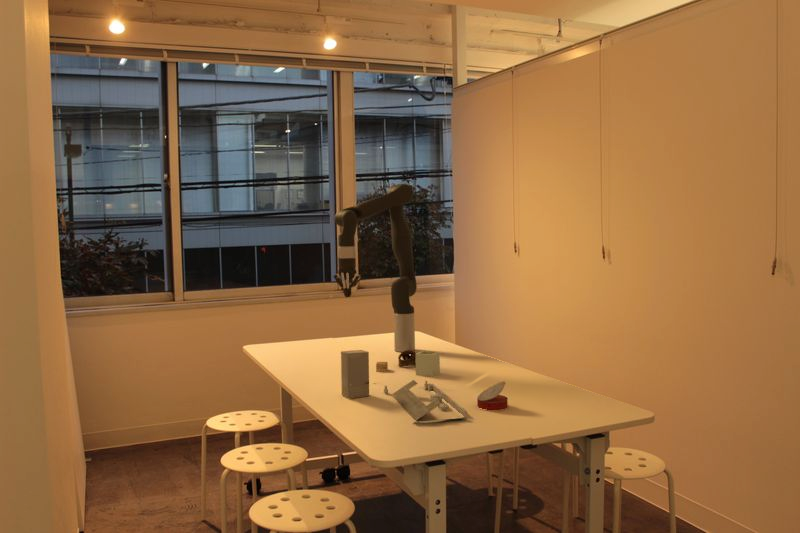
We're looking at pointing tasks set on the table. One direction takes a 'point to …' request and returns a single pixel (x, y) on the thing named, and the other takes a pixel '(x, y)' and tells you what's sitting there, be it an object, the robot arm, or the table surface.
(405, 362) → the pottery mug
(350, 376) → the skincare box
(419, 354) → the celadon pot
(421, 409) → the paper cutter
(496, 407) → the canned food
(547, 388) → the table surface
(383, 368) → the oak block
